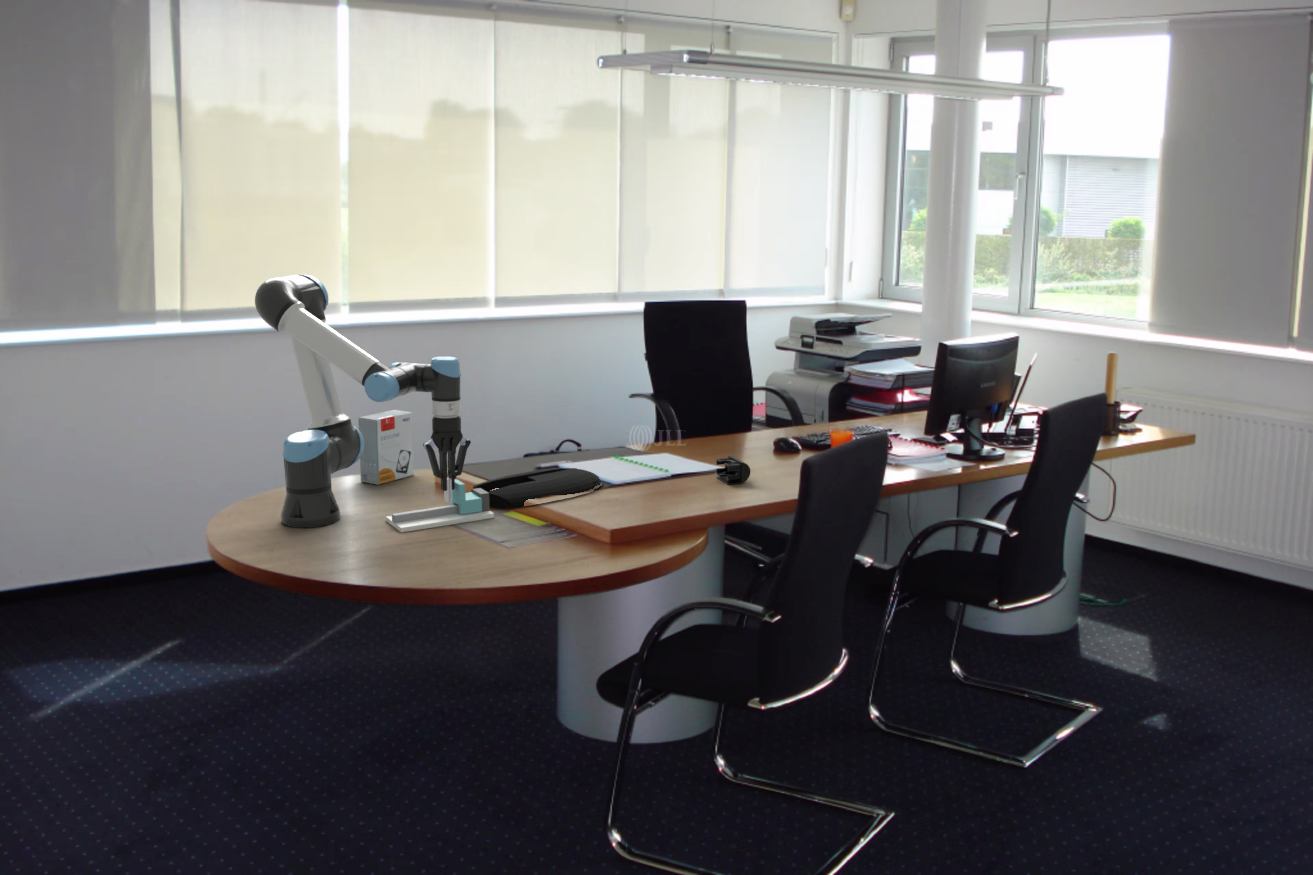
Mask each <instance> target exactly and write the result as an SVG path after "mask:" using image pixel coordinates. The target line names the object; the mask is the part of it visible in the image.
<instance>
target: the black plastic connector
mask: <svg viewBox="0 0 1313 875" xmlns="http://www.w3.org/2000/svg"><path fill="white" fill-rule="evenodd" d="M715 461H716V465H717V466H719V465H720V466H721V465H724V467H721V468H720V467H719V468H716V472H715V473H716V475H717V476H716V479H717V480H719V481H720V482H722V483H724V484H726V485H727V486H735V485H742V484H743V483H745V482H746V481H747V480H748V479H749V478H750V476H751V468H750V466H749V464H747V463H746V462H744V461H743V460H740V459H738V458H736V457H735V456H732V455H728V456H727V457H726V458H717V459H716V460H715Z"/></svg>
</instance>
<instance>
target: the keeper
mask: <svg viewBox="0 0 1313 875" xmlns="http://www.w3.org/2000/svg"><path fill="white" fill-rule="evenodd" d="M455 504H457V505H458V508H459V513H460V514H461V515H462V514H468V513H475V512H481V511H482V498H481V497H479V496H477V495H475V494H474V493H472V492H471V491H470V492H466V484H465V483H464V482H462V481H461V480H459V479H457V478H456V479H455V488H454V490H452V503H450V505H455Z"/></svg>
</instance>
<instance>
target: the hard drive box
mask: <svg viewBox="0 0 1313 875" xmlns="http://www.w3.org/2000/svg"><path fill="white" fill-rule="evenodd" d="M357 422H358V424H357V425H358V429H359V431H360V432H361V434H362V436H363V439H364V451H363V454H362V456H361V457H360V459H359V463H360V464H359V466H360V467H359V470H360V471H359V472H360V482H363V483H367V484H372V485H376V486H378V485H382V484H387V483H390V482H393V481H398V480H400V479H405V478H408V477H411V476H414V474H415V473H414V446H413V445H414V442H413V441H414V440H413V439H414V438H413V412H412V411H404V410H399V409H392V410H387V411H381V412H378V413H374V414H373V413H372V414H368V415H364V416H359V417H358V421H357Z"/></svg>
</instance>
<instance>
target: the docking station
mask: <svg viewBox="0 0 1313 875" xmlns="http://www.w3.org/2000/svg"><path fill="white" fill-rule="evenodd" d="M599 478H600V476H598V475H597V474H596V473H594V472H592V471H589V470H586V469H581V468H577V467H573V468H572V467H566V468H551V469H541V470H539V469H538V470H533V471H527V472H519V473H514V474H511V475H506V476H501V477H498V478H497V477H496V478H493V479H489V480H486V481H483V482H480V483H477V484H473V486H472V488H471V489H470V490H471V491H470V492H472V489H477V488H481V489H483V490H485V491H487V492H488V493H489V507H497V508H504V509H505V508H506V509H519V508H524V507H523V506H524V502H525V501H526V500H528V499H535V498H540V497H543V496H547V495H548V496H549V495H567V494H575V493H580V492H584V491H588V490H590V489H593V488H594V487H595V486H597V485H600V483H601V481H600V479H601V478H600V479H599ZM495 488H499V489H496V490H493V491H490V490H492V489H495Z"/></svg>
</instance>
